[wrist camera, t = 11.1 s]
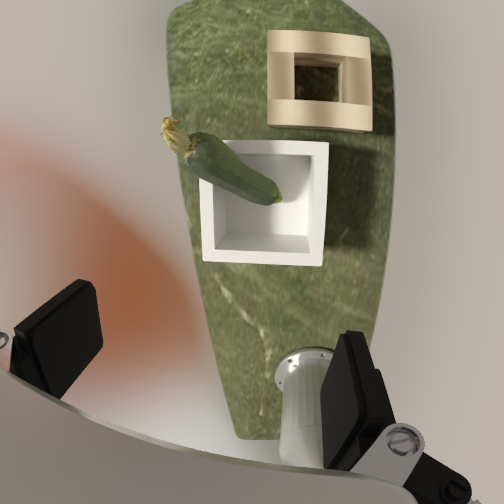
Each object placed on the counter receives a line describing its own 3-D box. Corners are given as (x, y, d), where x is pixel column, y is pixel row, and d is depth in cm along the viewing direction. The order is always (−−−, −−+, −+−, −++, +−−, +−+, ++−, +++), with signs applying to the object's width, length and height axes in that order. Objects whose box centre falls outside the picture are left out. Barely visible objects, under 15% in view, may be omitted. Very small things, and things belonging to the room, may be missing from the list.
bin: (320, 143, 37) (328, 142, 29) (316, 244, 42) (321, 266, 34) (215, 141, 38) (198, 141, 31) (217, 240, 43) (203, 260, 36)
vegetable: (260, 215, 40) (135, 160, 23) (256, 186, 41) (139, 122, 24) (290, 206, 37) (171, 136, 21) (285, 175, 38) (172, 97, 22)
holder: (358, 51, 32) (369, 37, 26) (360, 133, 36) (372, 131, 30) (270, 45, 33) (267, 30, 27) (270, 127, 37) (267, 124, 31)
